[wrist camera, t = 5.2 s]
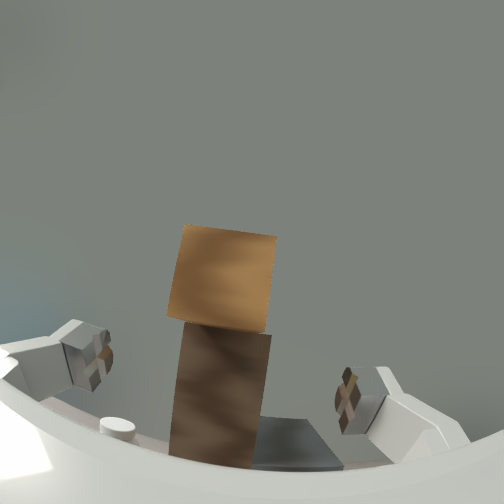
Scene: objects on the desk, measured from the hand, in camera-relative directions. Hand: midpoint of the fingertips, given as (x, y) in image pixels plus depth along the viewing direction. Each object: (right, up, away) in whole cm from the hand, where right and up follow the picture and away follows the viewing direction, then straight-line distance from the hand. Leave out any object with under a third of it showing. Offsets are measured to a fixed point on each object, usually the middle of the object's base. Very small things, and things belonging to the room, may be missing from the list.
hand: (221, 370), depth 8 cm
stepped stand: (-1, -29, +9) cm, 30 cm away
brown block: (-1, -2, +12) cm, 12 cm away
